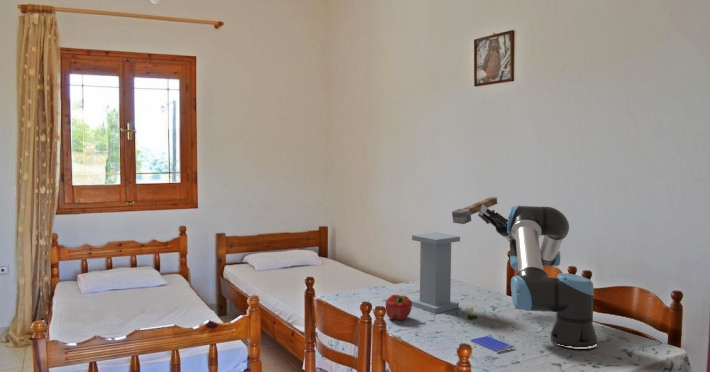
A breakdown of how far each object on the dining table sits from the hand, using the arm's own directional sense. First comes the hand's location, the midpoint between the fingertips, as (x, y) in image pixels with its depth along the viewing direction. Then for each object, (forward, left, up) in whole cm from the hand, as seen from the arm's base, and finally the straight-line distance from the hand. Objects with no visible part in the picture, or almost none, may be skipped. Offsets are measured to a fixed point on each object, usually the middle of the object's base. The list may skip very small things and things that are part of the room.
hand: (478, 206), depth 254 cm
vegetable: (-50, +9, -41) cm, 65 cm away
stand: (-25, +7, -41) cm, 48 cm away
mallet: (-1, 0, +1) cm, 2 cm away
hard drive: (-55, -32, -42) cm, 76 cm away
